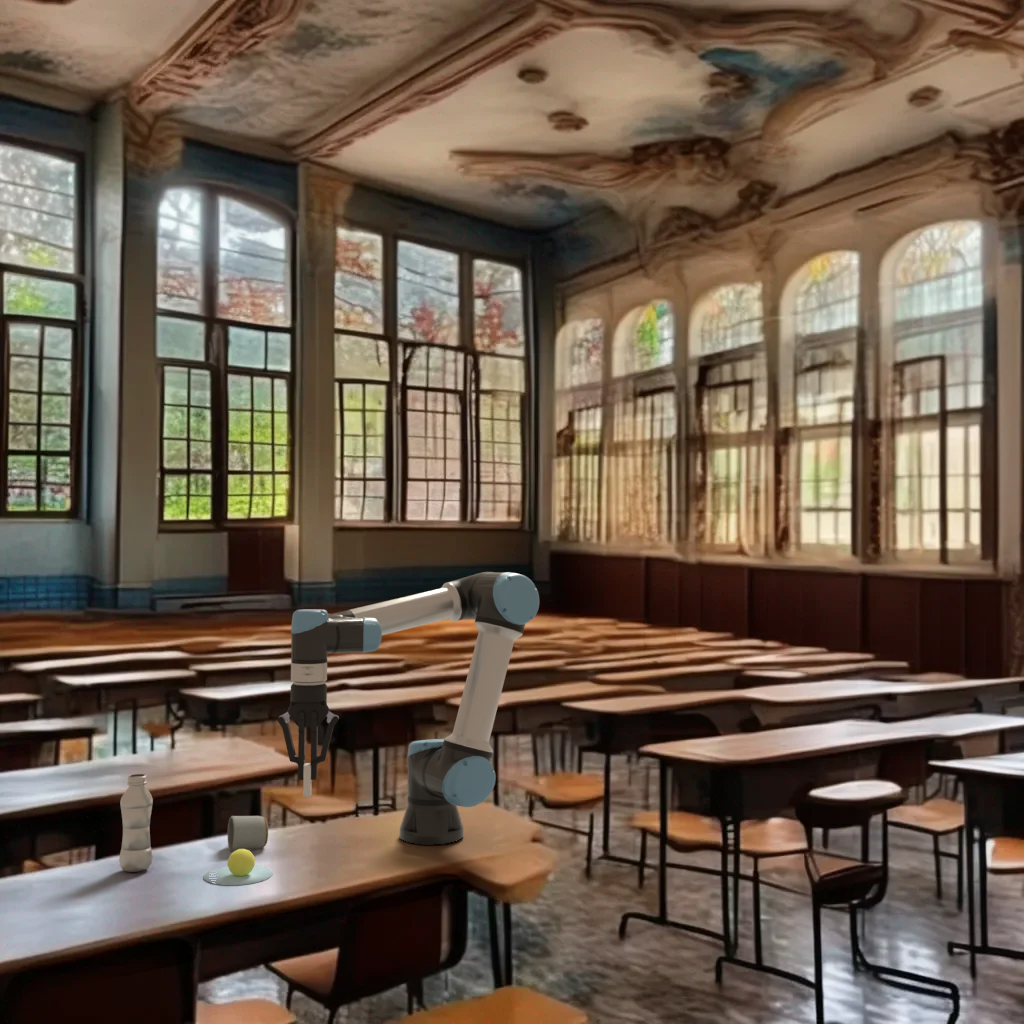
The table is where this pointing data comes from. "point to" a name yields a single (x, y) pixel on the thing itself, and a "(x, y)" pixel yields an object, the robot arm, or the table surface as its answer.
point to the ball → (241, 862)
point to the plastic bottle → (136, 825)
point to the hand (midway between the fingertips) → (307, 795)
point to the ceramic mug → (247, 832)
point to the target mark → (230, 879)
